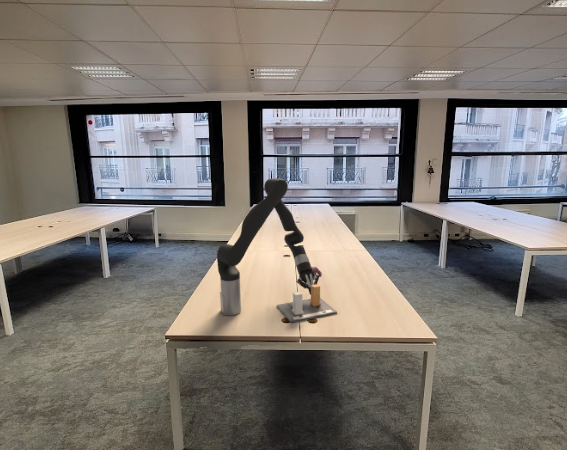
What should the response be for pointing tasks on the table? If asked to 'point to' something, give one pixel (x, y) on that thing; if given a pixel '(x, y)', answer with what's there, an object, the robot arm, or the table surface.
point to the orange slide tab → (315, 295)
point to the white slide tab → (297, 303)
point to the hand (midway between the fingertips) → (313, 294)
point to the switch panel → (306, 311)
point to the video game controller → (316, 271)
